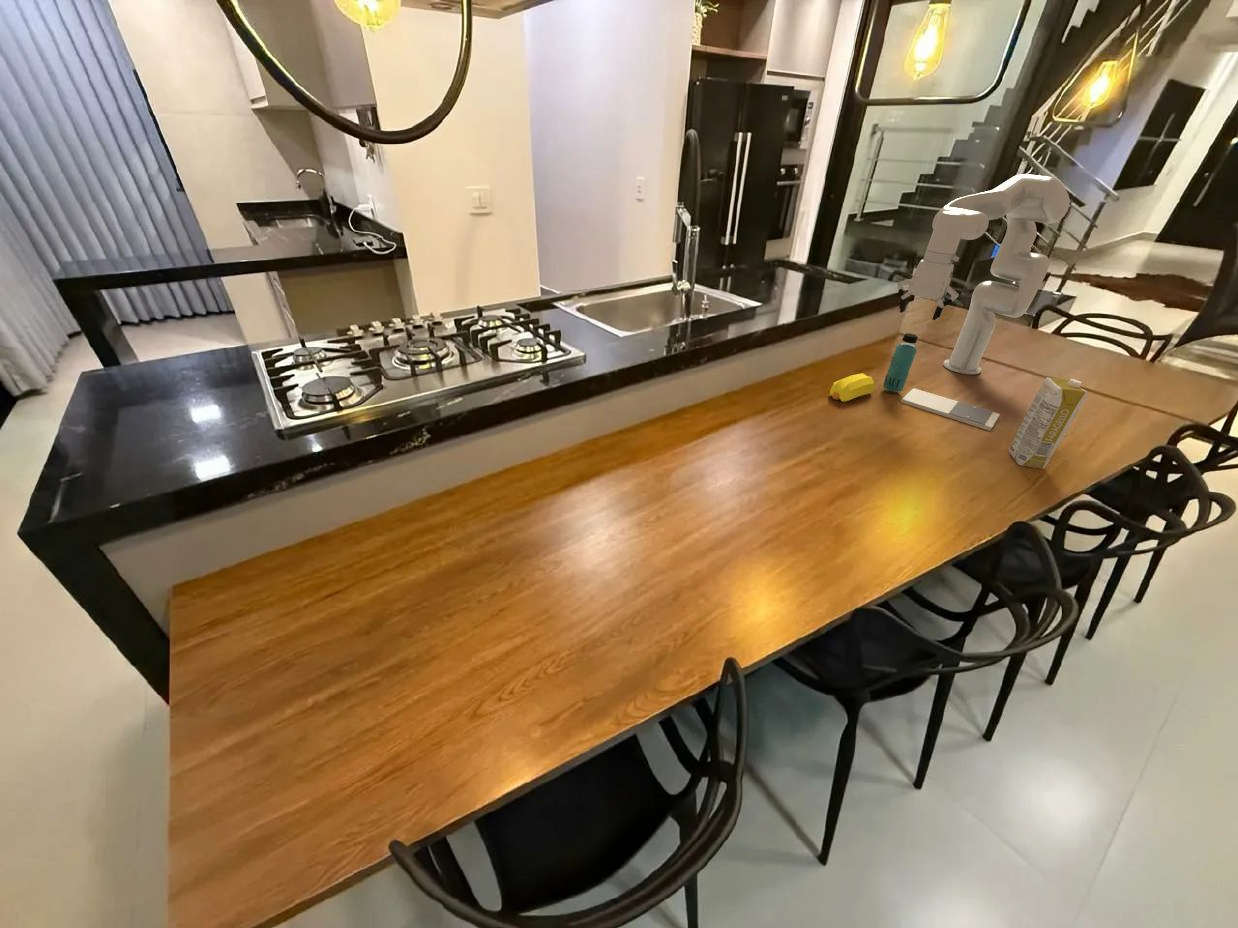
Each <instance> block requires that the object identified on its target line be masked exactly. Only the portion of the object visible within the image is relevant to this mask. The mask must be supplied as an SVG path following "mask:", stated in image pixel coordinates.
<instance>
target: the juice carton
mask: <svg viewBox="0 0 1238 928" xmlns="http://www.w3.org/2000/svg"><path fill="white" fill-rule="evenodd" d="M1081 385H1082V381H1080V380H1078V379H1074V378H1070V379H1068V378H1061V377H1060V378H1059V377H1050V376H1049V377H1046V378H1045V379H1044V381H1043V382H1042V384H1041V386H1040V387H1039V389H1038V391H1037V393H1036V395H1035V396H1034V399H1033V400H1032V403H1030V404H1031V405H1030V406H1029V408H1028V410H1027V412H1026V413H1025V416H1024V418H1023V420H1022V421H1021V424H1020V426H1019V428H1018V430H1017V432H1015V433H1016V434H1015V436H1014V438H1013V439H1012V441H1011V443H1010V446H1009V448H1008V452H1009V454H1010V456H1012V457H1013V459H1014V460H1015V462H1016V463H1017V465H1019V466H1021V467H1025V468H1026V467H1028V468H1033V469H1045V468H1046V467H1047V466H1048V463H1049V462H1050V461H1051V460H1052V458H1053V456H1054V454H1055V453H1056V450H1058V448H1059V446H1060V443H1061V442H1062V440H1063V439H1064V437H1065V435H1066V433H1067V432H1068V431H1069V428H1070V427H1071V425H1072V422H1073V421H1074V419H1075V417H1076V416H1077V415H1078V413H1079V411H1080V409H1081V407H1082V405H1083V403H1084V402H1085V400H1086V398H1087V395H1088V394H1089V393H1088V391H1087V390H1085V389H1083V388H1081V387H1080V386H1081Z"/></svg>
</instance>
